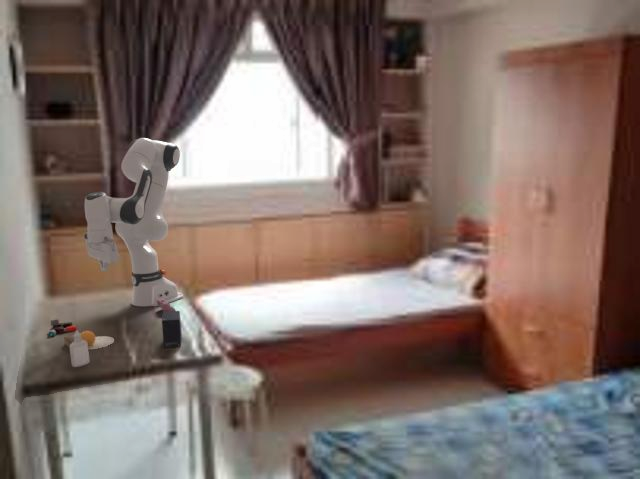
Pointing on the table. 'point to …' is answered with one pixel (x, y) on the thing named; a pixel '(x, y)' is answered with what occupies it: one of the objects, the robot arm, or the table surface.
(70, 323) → the toy gun
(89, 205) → the robot arm
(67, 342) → the rail
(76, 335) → the eye dropper bottle
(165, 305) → the video game controller
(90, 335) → the ball
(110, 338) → the white flat disc
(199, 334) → the table surface
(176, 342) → the small box
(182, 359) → the table surface
